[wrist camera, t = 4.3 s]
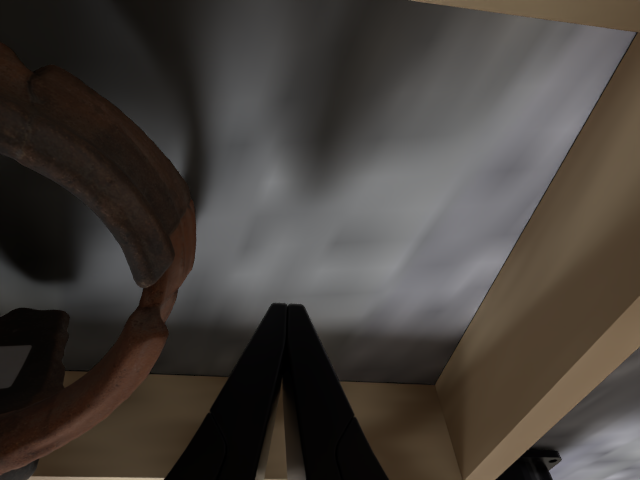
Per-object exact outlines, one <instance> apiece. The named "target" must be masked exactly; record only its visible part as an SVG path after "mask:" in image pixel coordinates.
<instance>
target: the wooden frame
mask: <svg viewBox="0 0 640 480" xmlns="http://www.w3.org/2000/svg"><path fill="white" fill-rule="evenodd" d="M410 1H417V2H424V3H431V4H438V5H446V6H453V7H460V8H467V9H474V10H481V11H489V12H496V13H503V14H510V15H517V16H525V17H532V18H539V19H546V20H553V21H560V22H568V23H575V24H582V25H589V26H596V27H604V28H611V29H618V30H625V31H632V32H638V33H637V35H636V37H635V38H634V40H633V42H632V44H631V45H630V47H629V49H628V51H627V52H626V54H625V56H624V57H623V59H622V61H621V63H620V64H619V66H618V68H617V70H616V71H615V73H614V75H613V77H612V78H611V80H610V82H609V84H608V85H607V87H606V89H605V90H604V92H603V94H602V96H601V97H600V99H599V101H598V103H597V104H596V106H595V108H594V110H593V111H592V113H591V115H590V116H589V118H588V120H587V122H586V123H585V125H584V127H583V129H582V130H581V132H580V134H579V136H578V137H577V139H576V141H575V143H574V144H573V146H572V148H571V149H570V151H569V153H568V155H567V156H566V158H565V160H564V162H563V163H562V165H561V167H560V169H559V170H558V172H557V174H556V176H555V177H554V179H553V181H552V182H551V184H550V186H549V188H548V189H547V191H546V193H545V195H544V196H543V198H542V200H541V202H540V203H539V205H538V207H537V208H536V210H535V212H534V214H533V215H532V217H531V219H530V221H529V222H528V224H527V226H526V228H525V229H524V231H523V233H522V235H521V236H520V238H519V240H518V241H517V243H516V245H515V247H514V248H513V250H512V252H511V254H510V255H509V257H508V259H507V261H506V262H505V264H504V266H503V268H502V269H501V271H500V273H499V274H498V276H497V278H496V280H495V281H494V283H493V285H492V287H491V288H490V290H489V292H488V294H487V295H486V297H485V299H484V300H483V302H482V304H481V306H480V307H479V309H478V311H477V313H476V314H475V316H474V318H473V320H472V321H471V323H470V325H469V327H468V328H467V330H466V332H465V333H464V335H463V337H462V339H461V340H460V342H459V344H458V346H457V347H456V349H455V351H454V353H453V354H452V356H451V358H450V360H449V361H448V363H447V365H446V366H445V368H444V370H443V372H442V373H441V375H440V377H439V379H438V380H437V382H436V384H435V385H421V384H395V383H369V382H342V381H339V382H340V384H341V386H342V388H343V390H344V392H345V395H346V397H347V399H348V401H349V403H350V405H351V407H352V410H353V412H354V414H355V415H354V417H356V418H357V420H358V422H359V424H360V426H361V428H362V431H363V433H364V435H365V437H366V439H367V440H368V442H369V444H370V446H371V448H372V450H373V452H374V454H375V456H376V458H377V459H378V461H379V463H380V464H381V466H382V468H383V470H384V471H385V473H386V475H387V477H388V478H389V480H495V479H497V478H498V477H499V476H500V475H501V474H502V473H503V472H504V471H505V470H506V469H507V468H508V467H510V466H511V465H512V464H513V463H514V462H515V461H516V460H517V459H518V458H519V457H520V456H521V455H523V454H524V453H525V452H526V451H527V450H528V449H529V448H530V447H531V446H532V445H533V444H535V443H536V442H537V441H538V440H539V439H540V438H541V437H542V436H543V435H544V434H545V433H546V432H548V431H549V430H550V429H551V428H552V427H553V426H554V425H555V424H556V423H557V422H558V421H559V420H561V419H562V418H563V417H564V416H565V415H566V414H567V413H568V412H569V411H570V410H571V409H572V408H574V407H575V406H576V405H577V404H578V403H579V402H580V401H581V400H582V399H583V398H584V397H586V396H587V395H588V394H589V393H590V392H591V391H592V390H593V389H594V388H595V387H596V386H597V385H599V384H600V383H601V382H602V381H603V380H604V379H605V378H606V377H607V376H608V375H609V374H610V373H612V372H613V371H614V370H615V369H616V368H617V367H618V366H619V365H620V364H621V363H622V362H623V361H625V360H626V359H627V358H628V357H629V356H630V355H631V354H632V353H633V352H634V351H635V350H637V349H638V348H639V347H640V0H410ZM86 373H87V372H81V371H65V377H64V382H63V386H64V388H66V387H67V386H69V385H71V384H72V383H74V382H75V381H77V380H78V379H79V378H81V377H82V376H84V375H85V374H86ZM227 379H228V377H212V376H185V375H159V374H149V375H148V376H147V378H146V379H145V380H144V381H143V382H142V383H141V384H140V385H139V386H138V387H137V388H136V389H135V390H134V392H133V393H132V394H131V395H130V397H129V398H128V399H126V400H125V401H123V402H122V403H121V404H120V405H119V406H118V407H117V408H116V409H115V410H113V412H112V413H111V414H110V415H109V416H108V417H107V418H105V419H104V420H103V421H101V422H100V423H98V424H97V425H95V426H94V427H93V428H92V429H90V430H89V431H87V432H85V433H84V434H82V435H81V436H79V437H78V438H76V439H73V440H72V441H70V442H69V443H67V444H66V445H64V446H62V447H60V448H59V449H56V450H54V451H53V452H51V453H50V454H48V455H46V456H44V457H41V458H39V462H38V465H37V468H36V470H35V472H34V473H33V475H32V476H31V477H30V478H29V479H28V480H164V478H165V477H166V476H167V474H168V473H169V472H170V470H171V469H172V467H173V466H174V465H175V463H176V462H177V460H178V459H179V457H180V456H181V455H182V453H183V452H184V450H185V449H186V447H187V446H188V444H189V443H190V441H191V439H192V438H193V436H194V435H195V433H196V431H197V430H198V428H199V427H200V425H201V423H202V421H203V420H204V418H205V416H206V415H207V413H210V408H211V406H212V405H213V403H214V401H215V400H216V398H217V396H218V395H219V393H220V391H221V389H222V388H223V386H224V384H225V383H226V381H227ZM264 480H287V463H286V446H285V429H284V412H283V395H282V384H281V391H280V396H279V402H278V407H277V412H276V418H275V423H274V428H273V434H272V439H271V445H270V450H269V455H268V461H267V466H266V471H265V477H264Z"/></svg>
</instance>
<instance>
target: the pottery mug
mask: <svg viewBox="0 0 640 480" xmlns="http://www.w3.org/2000/svg"><path fill="white" fill-rule="evenodd" d="M0 154H2V155H5V156H8V157H10V158H13V159H15V160H16V161H18V162H19V163H20V164H21V165H23V166H26V167H28V168H30V169H32V170H34V171H36V172H38V173H40V174H41V175H43V176H45V177H47V178H49V179H51V180H53V181H54V182H56V183H57V184H59V185H60V186H62V187H63V188H65V189H66V190H68V191H69V192H70V193H72V194H73V195H74V196H76V197H77V198H78V199H79V200H81V201H82V202H83V203H84V204H86V205H87V206H88V207H89V208H90V209H91V210H92V211H93V212H94V213H95V214H96V215H97V216H98V217H99V218H100V219H101V220H102V221H103V223H104V224H105V225H106V227H107V228H108V229H109V230H110V232H111V233H112V234H113V236H114V237H115V239H116V240H117V242H118V243H119V244H120V246H121V248H122V250H123V252H124V254H125V257H126V260H127V262H128V264H129V267H130V270H131V272H132V275H133V279H134V280H135V282H136V284H137V285H138V286H139V287H141V288H143V292H142V296H141V299H140V303H139V306H138V307H137V309H136V310H135V311H134V312H133V313H132V314H131V316H130V317H129V318H128V320H127V322H126V324H125V326H124V329H123V331H122V333H121V335H120V336H119V338H118V339H117V341H116V342H115V344H114V345H113V347H112V348H111V349H110V350H109V351H108V353H107V354H106V355H105V356H104V357H103V358H102V359H101V361H100V362H99V363H98V364H96V365H95V366H94V367H93V368H92V369H91V370H90V371H88V372H87V373H86V374H85V375H84V376H82V377H81V378H79V379H78V380H77V381H75V382H74V383H72V384H71V385H69V386H67V387H66V388H64V386H63V382H64V377H65V367H64V365H63V363H62V361H61V359H62V358H63V356H64V349H65V345H66V343H67V341H68V338H69V334H68V332H67V329H68V325H69V318H70V317H69V315H68V314H67V313H66V312H65V311H62V310H35V309H30V308H18V309H15V310H12V311H10V312H9V313H7V314H6V315H4V316H2V317H0V480H28V479H29V478H30V477H31V476H32V475H33V473H34V472H35V470H36V468H37V465H38V462H39V458H41V457H44V456H46V455H48V454H50V453H51V452H53V451H54V450H56V449H59V448H60V447H62V446H64V445H66V444H67V443H69V442H70V441H72V440H73V439H76V438H78V437H79V436H81V435H82V434H84V433H85V432H87V431H89V430H90V429H92V428H93V427H94V426H95V425H97V424H98V423H100V422H101V421H103V420H104V419H105V418H107V417H108V416H109V415H110V414H111V413H112V412H113V410H115V409H116V408H117V407H118V406H119V405H120V404H121V403H122V402H123V401H125V400H126V399H128V398H129V397H130V395H131V394H132V393H133V392H134V390H135V389H136V388H137V387H138V386H139V385H140V384H141V383H142V382H143V381H144V380H145V379H146V378H147V376H148V375H149V373H150V371H151V369H152V368H153V366H154V364H155V362H156V361H157V359H158V358H159V356H160V354H161V351H162V350H163V348H164V345H165V343H166V340H167V338H168V335H169V331H168V329H167V327H166V325H165V322H166V320H167V318H168V316H169V314H170V313H171V310H172V308H173V305H174V303H175V301H176V298H177V293H178V288H179V287H180V286H181V285H182V283H183V281H184V280H185V278H186V277H187V275H188V274H189V272H190V271H191V270H192V267H193V263H194V259H195V250H196V219H195V209H194V203H193V200H192V199H191V195H190V190H189V187H188V184H187V183H186V181H185V180H184V179H183V178H182V176H181V175H180V174H179V172H178V171H177V169H176V168H175V167H174V165H173V164H172V163H171V161H170V160H169V159H168V158H167V157H166V156H165V155H164V154H163V152H162V151H161V150H160V149H159V148H158V147H157V146H156V144H155V143H154V142H153V141H152V140H151V139H150V138H149V137H148V136H147V135H146V134H145V133H144V132H143V131H142V130H141V129H140V128H139V127H138V126H137V125H136V124H135V123H134V122H133V121H132V120H131V119H130V118H128V117H127V116H126V115H125V114H124V113H123V112H122V111H121V110H120V109H118V108H117V107H116V106H115V105H113V104H112V103H111V102H109V101H108V100H107V99H105V98H104V97H102V96H101V95H99V94H98V93H97V92H95V91H94V90H93V89H91V88H90V87H89V86H87V85H86V84H84V83H83V82H82V81H81V80H80V79H78V78H77V77H75V76H74V75H72V74H71V73H69V72H68V71H66V70H64V69H62V68H60V67H57V66H55V65H47V66H44V67H41V68H39V69H38V70H36V71H34V72H32V71H30V70H29V69H28V68H26V67H25V65H24V64H23V63H22V62H21V61H20V60H19V58H18V57H17V56H16V54H15V53H14V52H13V50H11V49H10V48H9V47H8V46H6V45H5V44H3V43H1V42H0Z"/></svg>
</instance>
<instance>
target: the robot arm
mask: <svg viewBox="0 0 640 480" xmlns="http://www.w3.org/2000/svg"><path fill="white" fill-rule="evenodd" d="M281 384H282V395H283V412H284V429H285V446H286V463H287V480H389V478H388V477H387V475H386V473H385V471H384V470H383V468H382V466H381V464H380V463H379V461H378V459H377V458H376V456H375V454H374V452H373V450H372V448H371V446H370V444H369V442H368V440H367V439H366V437H365V435H364V433H363V431H362V428H361V426H360V424H359V422H358V420H357V418H356V417H354V415H355V414H354V412H353V410H352V407H351V405H350V403H349V401H348V399H347V397H346V395H345V392H344V390H343V388H342V386H341V384H340V382H339V380H338V377H337V375H336V373H335V371H334V369H333V367H332V365H331V363H330V360H329V358H328V356H327V354H326V352H325V350H324V348H323V345H322V343H321V341H320V339H319V337H318V335H317V333H316V330H315V328H314V326H313V324H312V322H311V320H310V318H309V316H308V313H307V311H306V309H305V307H304V306H303V305H302V304H289V305H288V306H287V304H285V303H272V304H271V306H270V307H269V309H268V311H267V313H266V314H265V316H264V318H263V319H262V321H261V323H260V324H259V326H258V328H257V330H256V331H255V333H254V335H253V336H252V338H251V340H250V342H249V343H248V345H247V347H246V348H245V350H244V352H243V354H242V355H241V357H240V359H239V360H238V362H237V364H236V365H235V367H234V369H233V371H232V372H231V374H230V376H229V377H228V379H227V381H226V383H225V384H224V386H223V388H222V389H221V391H220V393H219V395H218V396H217V398H216V400H215V401H214V403H213V405H212V406H211V408H210V413H207V415H206V416H205V418H204V420H203V421H202V423H201V425H200V427H199V428H198V430H197V431H196V433H195V435H194V436H193V438H192V439H191V441H190V443H189V444H188V446H187V447H186V449H185V450H184V452H183V453H182V455H181V456H180V457H179V459H178V460H177V462H176V463H175V465H174V466H173V467H172V469H171V470H170V472H169V473H168V474H167V476H166V477H165V478H164V480H264V477H265V471H266V466H267V461H268V455H269V450H270V445H271V439H272V434H273V428H274V423H275V418H276V412H277V407H278V402H279V396H280V391H281ZM561 460H562V459H561V457H560V455H559V453H558V451H555V450H527V451H526V452H525V453H524V454H523V455H521V456H520V457H519V458H518V459H517V460H516V461H515V462H514V463H513V464H512V465H511V466H510V467H508V468H507V469H506V470H505V471H504V472H503V473H502V474H501V475H500V476H499V477H498V478H497V479H495V480H553V479H552V477H551V475H550V473H549V470H550V469H552V468H553V467H554V466H555V465H557V464H558V463H559V462H560V461H561Z"/></svg>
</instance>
